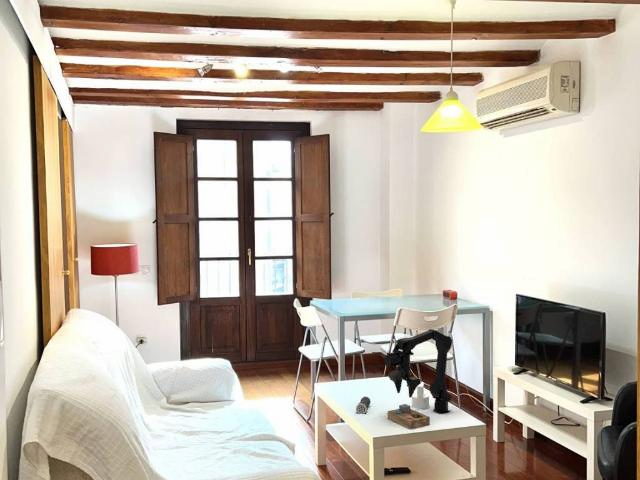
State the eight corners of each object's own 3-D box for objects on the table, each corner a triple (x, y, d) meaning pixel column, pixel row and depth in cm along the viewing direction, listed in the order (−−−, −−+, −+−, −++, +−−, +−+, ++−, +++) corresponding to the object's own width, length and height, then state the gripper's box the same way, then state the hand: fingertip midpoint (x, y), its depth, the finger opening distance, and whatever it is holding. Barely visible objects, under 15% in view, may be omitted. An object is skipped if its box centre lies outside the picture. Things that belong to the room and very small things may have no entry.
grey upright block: (405, 417, 327) (405, 403, 326) (410, 419, 323) (410, 406, 323) (399, 419, 325) (399, 405, 324) (404, 421, 321) (404, 407, 321)
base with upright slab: (428, 409, 339) (428, 387, 339) (411, 408, 341) (411, 386, 340) (429, 404, 348) (429, 382, 347) (412, 403, 350) (412, 381, 349)
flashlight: (361, 405, 349) (361, 395, 348) (371, 405, 347) (371, 395, 347) (355, 413, 334) (355, 403, 334) (366, 414, 332) (366, 404, 332)
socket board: (406, 414, 331) (406, 406, 331) (429, 424, 315) (429, 415, 315) (387, 419, 325) (387, 409, 324) (410, 429, 309) (410, 419, 309)
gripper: (380, 362, 327) (380, 393, 328) (403, 370, 311) (403, 402, 312) (397, 359, 333) (397, 390, 334) (421, 367, 317) (421, 398, 318)
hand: (404, 395), depth 324 cm, fingers open, 9 cm apart
